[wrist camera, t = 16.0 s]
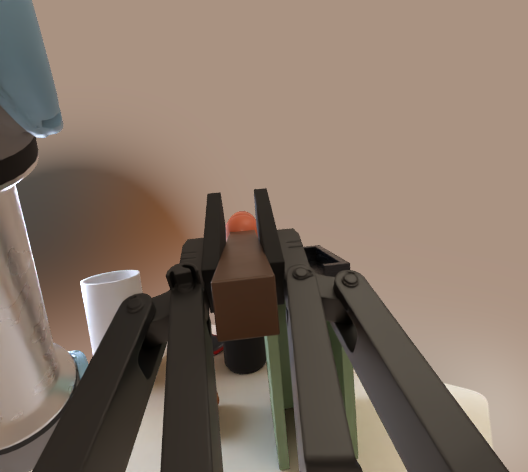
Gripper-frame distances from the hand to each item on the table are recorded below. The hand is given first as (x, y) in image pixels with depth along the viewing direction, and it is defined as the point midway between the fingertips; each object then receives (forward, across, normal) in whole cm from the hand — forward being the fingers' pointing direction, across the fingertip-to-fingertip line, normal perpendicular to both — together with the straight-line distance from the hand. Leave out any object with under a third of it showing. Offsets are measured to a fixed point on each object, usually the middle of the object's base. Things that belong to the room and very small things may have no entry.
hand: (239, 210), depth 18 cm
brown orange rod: (+1, 0, -5) cm, 5 cm away
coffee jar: (+24, -3, -60) cm, 65 cm away
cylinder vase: (+26, -32, -61) cm, 74 cm away
